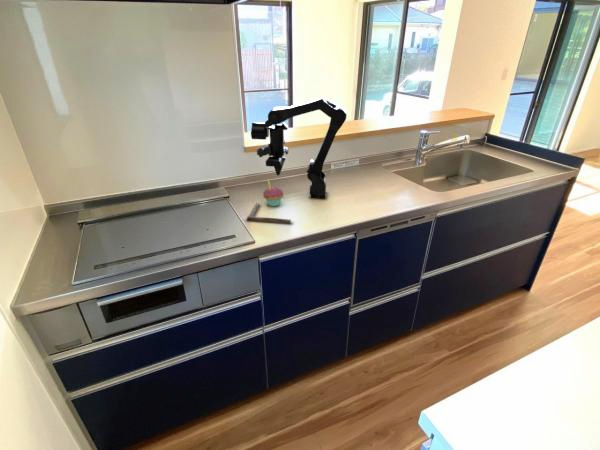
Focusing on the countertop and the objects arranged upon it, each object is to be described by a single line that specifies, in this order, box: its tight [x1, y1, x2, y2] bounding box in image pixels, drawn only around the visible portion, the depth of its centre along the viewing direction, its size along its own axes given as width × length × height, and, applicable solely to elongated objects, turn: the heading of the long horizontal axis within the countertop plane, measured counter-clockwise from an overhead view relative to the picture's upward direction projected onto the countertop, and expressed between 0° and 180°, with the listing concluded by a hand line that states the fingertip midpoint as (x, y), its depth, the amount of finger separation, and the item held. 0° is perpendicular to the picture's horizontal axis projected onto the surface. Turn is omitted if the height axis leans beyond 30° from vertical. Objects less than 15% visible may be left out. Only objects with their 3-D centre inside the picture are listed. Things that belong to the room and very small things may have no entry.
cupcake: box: [262, 179, 284, 207], centre depth 143 cm, size 9×8×12 cm
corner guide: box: [246, 202, 292, 225], centre depth 137 cm, size 17×13×2 cm
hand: (278, 175), depth 151 cm, fingers closed
